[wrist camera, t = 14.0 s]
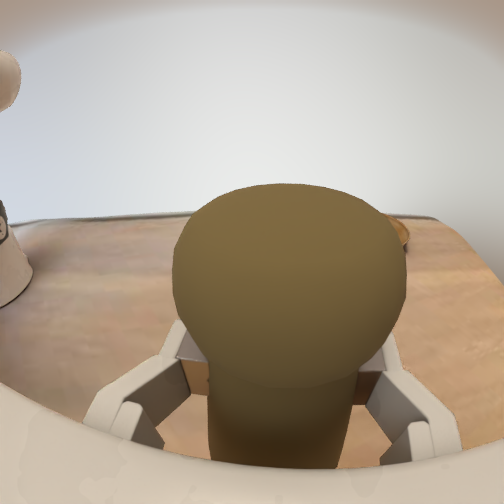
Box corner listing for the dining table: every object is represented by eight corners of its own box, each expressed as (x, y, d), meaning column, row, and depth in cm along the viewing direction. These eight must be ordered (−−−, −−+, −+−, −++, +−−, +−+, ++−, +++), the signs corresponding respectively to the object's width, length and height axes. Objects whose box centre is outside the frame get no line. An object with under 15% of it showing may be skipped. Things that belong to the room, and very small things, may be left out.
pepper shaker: (183, 432, 12) (100, 203, 6) (279, 370, 15) (287, 154, 10) (270, 526, 8) (310, 396, 2) (368, 437, 11) (471, 211, 6)
